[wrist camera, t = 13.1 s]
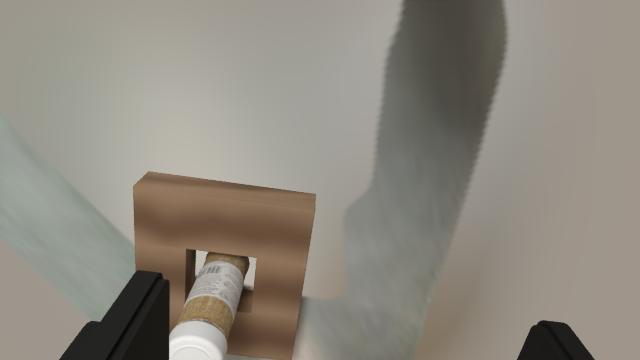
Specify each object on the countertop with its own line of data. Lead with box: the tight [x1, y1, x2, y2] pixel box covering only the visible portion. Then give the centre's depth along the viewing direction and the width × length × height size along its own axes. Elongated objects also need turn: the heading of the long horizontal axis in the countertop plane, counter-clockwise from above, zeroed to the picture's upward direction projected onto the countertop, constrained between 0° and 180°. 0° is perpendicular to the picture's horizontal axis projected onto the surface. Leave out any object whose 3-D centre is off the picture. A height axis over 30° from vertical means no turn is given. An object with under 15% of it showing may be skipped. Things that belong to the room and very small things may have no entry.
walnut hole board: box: [133, 172, 316, 360], centre depth 42 cm, size 18×16×4 cm
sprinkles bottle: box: [169, 252, 249, 360], centre depth 37 cm, size 5×5×13 cm
